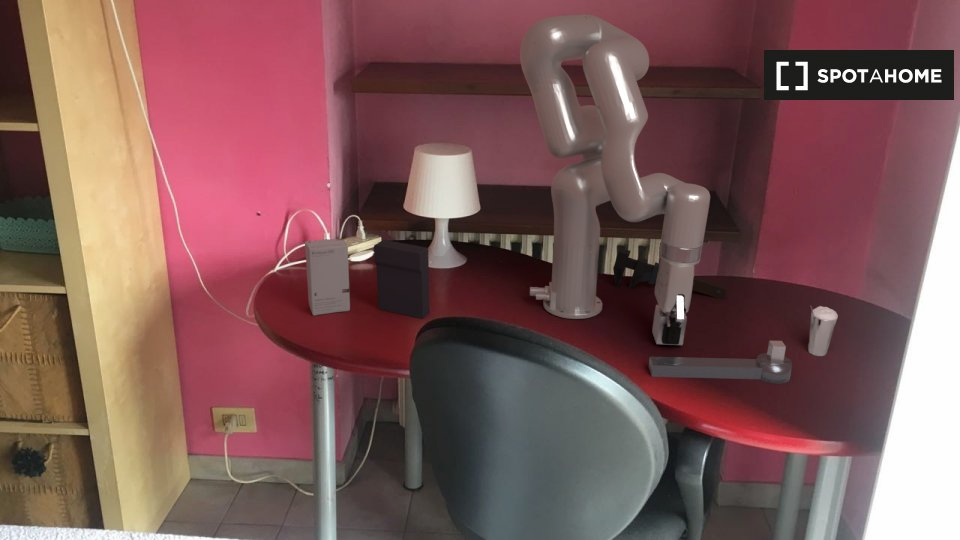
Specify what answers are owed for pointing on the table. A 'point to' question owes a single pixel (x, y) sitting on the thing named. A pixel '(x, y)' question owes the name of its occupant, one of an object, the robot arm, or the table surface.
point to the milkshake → (821, 330)
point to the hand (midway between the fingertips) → (667, 335)
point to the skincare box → (327, 276)
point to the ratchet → (728, 366)
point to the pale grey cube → (659, 323)
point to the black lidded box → (402, 278)
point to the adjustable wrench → (650, 272)
